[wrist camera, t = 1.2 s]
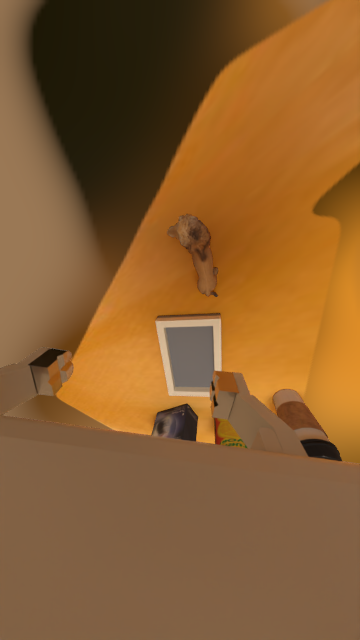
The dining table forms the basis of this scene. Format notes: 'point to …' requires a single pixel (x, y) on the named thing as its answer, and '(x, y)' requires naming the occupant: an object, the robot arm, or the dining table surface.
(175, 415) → the small box
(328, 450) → the coffee cup
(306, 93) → the dining table surface
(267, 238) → the dining table surface
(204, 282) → the lion figurine
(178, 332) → the picture frame
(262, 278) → the dining table surface
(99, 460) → the robot arm
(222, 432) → the yellow food can
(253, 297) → the dining table surface
